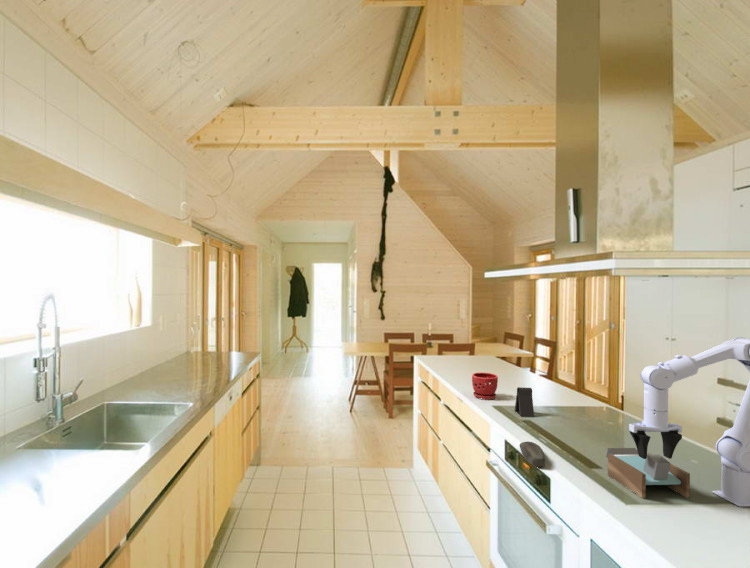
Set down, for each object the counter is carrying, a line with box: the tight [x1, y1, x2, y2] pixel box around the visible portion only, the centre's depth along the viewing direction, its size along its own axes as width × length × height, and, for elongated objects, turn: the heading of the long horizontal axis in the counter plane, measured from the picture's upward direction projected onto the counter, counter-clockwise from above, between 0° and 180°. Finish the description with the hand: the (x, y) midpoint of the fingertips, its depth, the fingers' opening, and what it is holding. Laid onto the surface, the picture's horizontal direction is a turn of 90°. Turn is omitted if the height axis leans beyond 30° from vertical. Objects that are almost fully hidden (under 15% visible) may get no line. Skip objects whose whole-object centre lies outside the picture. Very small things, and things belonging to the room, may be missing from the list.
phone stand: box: [514, 386, 535, 418], centre depth 188 cm, size 9×6×12 cm, turn 179°
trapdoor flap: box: [605, 447, 681, 486], centre depth 121 cm, size 11×17×4 cm, turn 5°
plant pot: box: [471, 372, 499, 400], centre depth 216 cm, size 13×13×12 cm
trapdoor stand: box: [607, 453, 691, 499], centre depth 119 cm, size 14×14×6 cm
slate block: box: [643, 454, 671, 480], centre depth 115 cm, size 4×4×5 cm
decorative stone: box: [519, 441, 546, 468], centre depth 137 cm, size 17×6×4 cm, turn 170°
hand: (655, 457), depth 116 cm, fingers open, 7 cm apart
